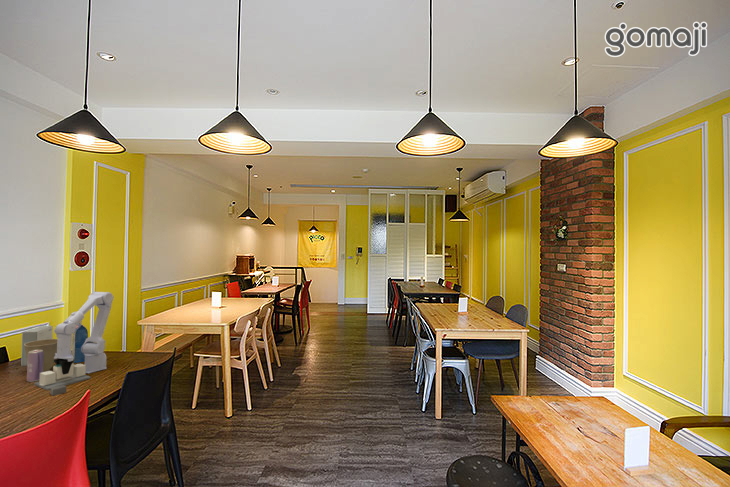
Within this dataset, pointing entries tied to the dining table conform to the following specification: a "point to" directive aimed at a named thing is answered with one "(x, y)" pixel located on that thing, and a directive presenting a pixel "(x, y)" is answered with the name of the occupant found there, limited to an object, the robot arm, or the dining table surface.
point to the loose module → (58, 371)
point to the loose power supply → (58, 390)
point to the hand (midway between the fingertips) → (63, 373)
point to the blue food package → (79, 342)
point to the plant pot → (44, 351)
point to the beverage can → (34, 365)
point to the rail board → (49, 379)
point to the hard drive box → (35, 338)
